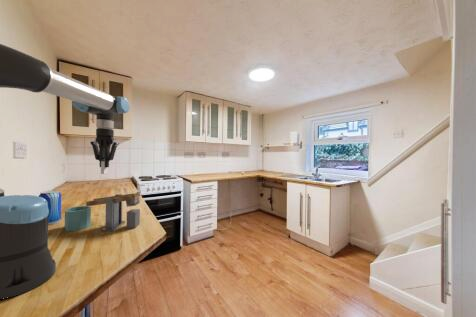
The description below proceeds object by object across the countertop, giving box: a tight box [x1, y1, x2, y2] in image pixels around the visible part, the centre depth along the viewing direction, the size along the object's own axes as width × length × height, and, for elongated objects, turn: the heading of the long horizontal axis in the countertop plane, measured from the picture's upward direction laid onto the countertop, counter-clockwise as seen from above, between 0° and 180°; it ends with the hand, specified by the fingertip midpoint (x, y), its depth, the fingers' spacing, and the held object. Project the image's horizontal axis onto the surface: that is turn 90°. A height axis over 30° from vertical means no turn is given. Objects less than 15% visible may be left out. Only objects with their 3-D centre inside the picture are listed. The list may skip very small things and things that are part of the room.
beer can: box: [38, 190, 62, 226], centre depth 94 cm, size 8×8×16 cm
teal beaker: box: [64, 205, 92, 232], centre depth 90 cm, size 9×9×9 cm
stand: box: [101, 193, 126, 232], centre depth 91 cm, size 11×5×15 cm, turn 6°
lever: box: [85, 191, 141, 208], centre depth 96 cm, size 22×15×6 cm
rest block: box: [126, 208, 141, 229], centre depth 92 cm, size 5×4×8 cm
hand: (104, 173), depth 97 cm, fingers closed
